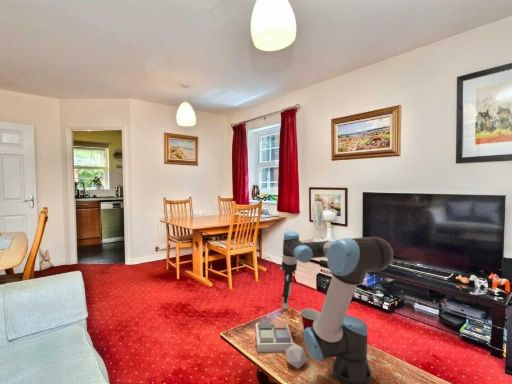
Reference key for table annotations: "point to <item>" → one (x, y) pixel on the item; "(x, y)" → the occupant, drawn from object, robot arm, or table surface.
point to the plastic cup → (309, 317)
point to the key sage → (266, 336)
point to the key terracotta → (279, 325)
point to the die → (296, 355)
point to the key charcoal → (265, 325)
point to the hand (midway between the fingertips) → (286, 300)
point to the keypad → (272, 346)
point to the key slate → (282, 336)
